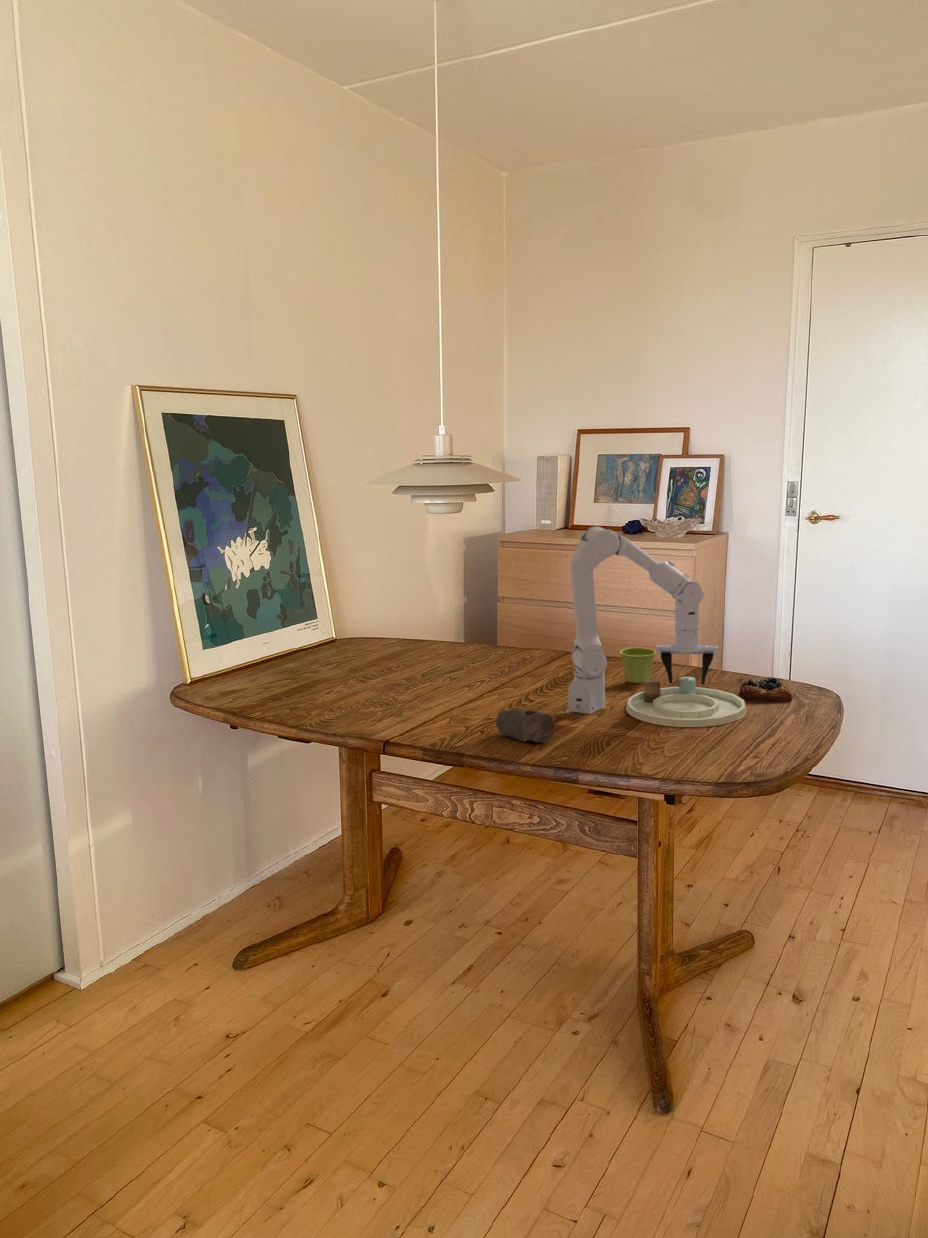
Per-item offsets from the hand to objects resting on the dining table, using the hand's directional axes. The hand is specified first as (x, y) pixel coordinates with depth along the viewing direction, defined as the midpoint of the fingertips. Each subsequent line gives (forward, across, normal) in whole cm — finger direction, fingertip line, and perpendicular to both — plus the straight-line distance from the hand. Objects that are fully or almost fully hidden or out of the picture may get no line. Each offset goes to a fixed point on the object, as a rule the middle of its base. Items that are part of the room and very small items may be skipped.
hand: (686, 682), depth 229 cm
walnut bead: (+4, +8, +4) cm, 10 cm away
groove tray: (+5, 0, +10) cm, 11 cm away
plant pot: (+5, +13, -15) cm, 21 cm away
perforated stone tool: (+5, +34, +34) cm, 48 cm away
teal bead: (+3, 0, 0) cm, 4 cm away
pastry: (+5, -19, -3) cm, 19 cm away
